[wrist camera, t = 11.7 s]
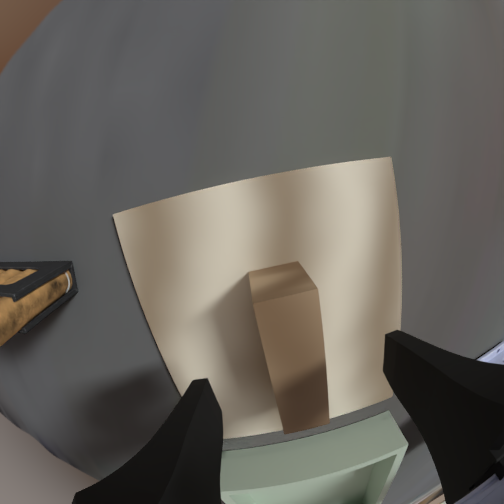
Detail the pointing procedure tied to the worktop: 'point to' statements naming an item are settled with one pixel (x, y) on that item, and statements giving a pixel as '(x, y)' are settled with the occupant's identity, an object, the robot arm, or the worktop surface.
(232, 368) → the lid
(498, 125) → the worktop surface
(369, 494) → the flat box
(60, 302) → the ammunition clip
